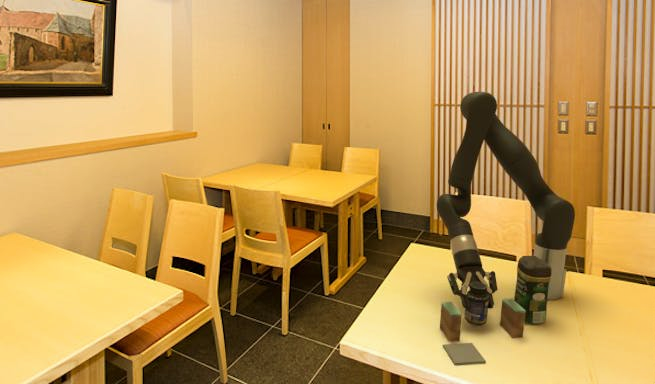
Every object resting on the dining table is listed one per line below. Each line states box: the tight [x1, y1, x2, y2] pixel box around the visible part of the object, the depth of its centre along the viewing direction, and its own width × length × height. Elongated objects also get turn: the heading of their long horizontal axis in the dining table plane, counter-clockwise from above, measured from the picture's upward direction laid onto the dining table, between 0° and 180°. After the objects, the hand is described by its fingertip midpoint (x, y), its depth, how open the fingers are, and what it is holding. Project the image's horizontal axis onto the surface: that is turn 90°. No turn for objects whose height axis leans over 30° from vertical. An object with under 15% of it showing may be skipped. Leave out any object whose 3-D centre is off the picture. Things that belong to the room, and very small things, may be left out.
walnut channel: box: [439, 298, 526, 343], centre depth 120 cm, size 21×7×8 cm, turn 96°
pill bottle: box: [464, 282, 489, 327], centre depth 122 cm, size 6×6×11 cm
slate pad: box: [442, 342, 487, 366], centre depth 110 cm, size 8×8×1 cm
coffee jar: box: [513, 255, 552, 325], centre depth 127 cm, size 10×8×19 cm
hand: (479, 308), depth 121 cm, fingers closed on pill bottle, 6 cm apart
